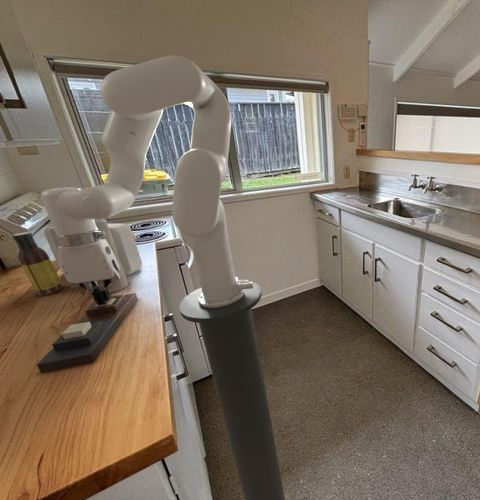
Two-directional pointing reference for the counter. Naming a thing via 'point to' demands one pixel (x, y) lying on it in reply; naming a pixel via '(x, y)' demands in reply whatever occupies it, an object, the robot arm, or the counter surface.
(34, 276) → the sauce bottle
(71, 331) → the high key
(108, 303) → the low key
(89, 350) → the black key block
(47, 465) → the counter surface
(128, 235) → the rounded white slab
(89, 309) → the walnut key block
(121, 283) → the thermos bottle
